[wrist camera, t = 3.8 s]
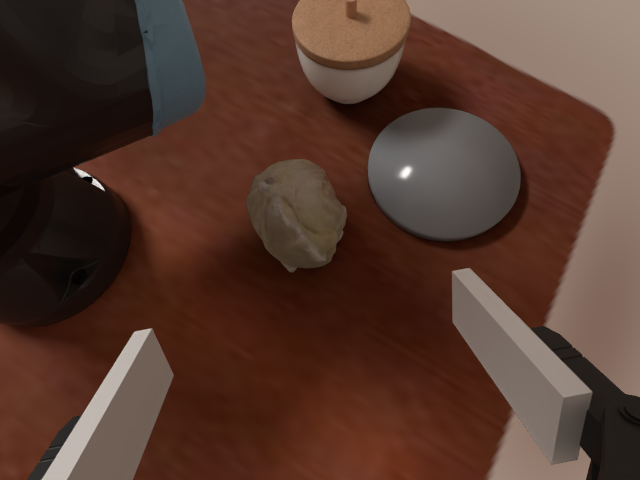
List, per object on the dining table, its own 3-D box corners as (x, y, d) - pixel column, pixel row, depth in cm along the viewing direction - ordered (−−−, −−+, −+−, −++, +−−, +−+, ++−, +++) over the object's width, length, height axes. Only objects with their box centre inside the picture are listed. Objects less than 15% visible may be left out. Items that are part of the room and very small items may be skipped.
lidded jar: (418, 78, 38) (441, -9, 29) (351, 139, 36) (355, 65, 27) (346, 32, 41) (347, -59, 32) (281, 85, 39) (263, 3, 30)
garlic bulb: (324, 279, 33) (323, 297, 23) (242, 246, 33) (207, 250, 23) (360, 188, 33) (375, 166, 23) (278, 156, 33) (258, 120, 23)
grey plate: (386, 254, 31) (388, 250, 30) (353, 129, 36) (354, 121, 35) (538, 226, 31) (545, 220, 30) (485, 104, 36) (489, 96, 35)
